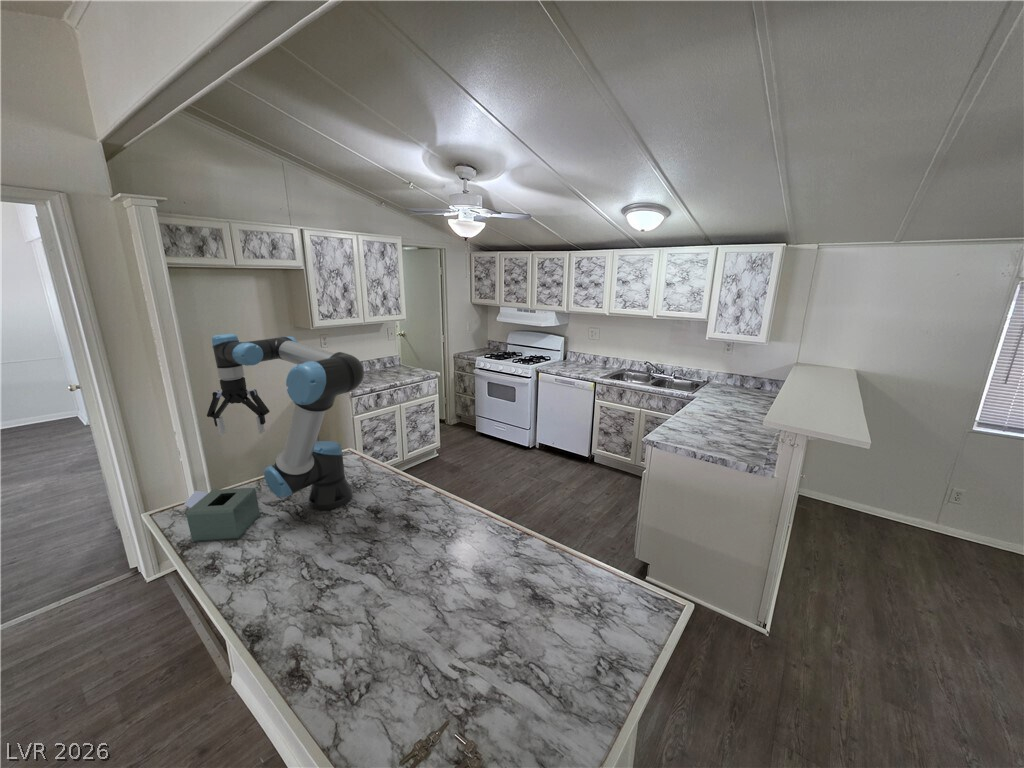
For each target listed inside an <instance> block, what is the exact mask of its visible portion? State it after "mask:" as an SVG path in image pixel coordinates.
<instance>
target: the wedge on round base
mask: <svg viewBox="0 0 1024 768" xmlns="http://www.w3.org/2000/svg"><path fill="white" fill-rule="evenodd" d="M208 493H209V492H207V491H200V490H195V491H194V492H193V493H192V494H191V495H190V497H189V498H188V499H187V500H186V501H185V502H184V504H183V506H186V507H188V508H189V509H190V508H191V507H192V506H194V505H195V504H196V503H197V502H199V501H200V500H201V499H202V498H203V497H205V496H206V495H207V494H208Z"/></svg>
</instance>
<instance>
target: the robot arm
mask: <svg viewBox="0 0 1024 768" xmlns="http://www.w3.org/2000/svg"><path fill="white" fill-rule="evenodd" d="M211 343H212V346H211V347H212V349H213V355H214V359H215V364H216V370H217V374H218V378H219V379H220V380H219V384H220V385H219V386H220V390H221V391H220V390H216V391H214V392H212V400H211V401H210V405H209V407H208V410H207V414H206V417H207V418H212V419H213V421H214V425H215V427H217V430H218V435H219V436H222V437H223V435H226V433H227V431H226V426H225V422H224V416H221V415H222V414H223V412H225V409H226V408H227V406H228V405H229V404H242V405H245V406H246V407H247V408H249V409H250V410H251V411H252V412H253V413H254V414H255V415H256V417H255V418H256V419H255V420H256V424H257V425H256V426H257V429H258V434H259V435H262V434H263V433H265V424H266V417H265V416H267V415H268V414H269V413H270V412H271V411H270V410H269V408H268V407H267V406H266V404H265V402H264V401H263V400H262V398H261V397H260V395H259V394H258V391H257V389H253V390H248V389H247V382H246V378H245V377H244V376H245V373H244V372H245V371H244V367H243V366H247V367H248V366H255V365H258V364H260V363H262V362H267V361H275V360H281V361H282V360H283V361H285V362H288V363H291V364H293V365H294V364H295V366H293V367H292V368H291V369H290V370H289V372H287V376H286V380H285V381H286V383H285V385H286V387H287V389H286V392H287V394H288V396H289V398H290V400H291V401H292V403H293V404H294V410H293V412H292V413H293V414H292V417H291V421H290V426H289V429H288V432H287V435H286V436H287V437H286V440H285V444H284V447H283V450H282V451H281V452H279V453H278V454H277V456H276V457H275V461H274V464H272V465H269V466H267V467H266V468H264V471H263V477H264V480H265V483H266V485H267V487H268V488H269V490H270V491H271V492H272V494H274V495H275V496H276V497H278V498H282V499H284V498H287V497H289V496H292V495H293V494H295V493H297V492H300V491H302V490H303V489H306V488H308V487H310V491H309V495H308V505H309V507H310V508H311V509H313V510H317V511H327V510H334V509H337V508H339V507H342V506H344V505H346V504H347V503H349V502H350V501H351V500H352V498H353V491H352V487H351V486H350V484H349V483H348V480H347V478H346V475H345V465H344V457H343V450H342V449H343V448H342V446H341V444H340V443H338V442H336V441H333V440H320V441H317V439H318V436H319V433H320V430H321V426H322V424H323V420H324V417H325V415H326V414H325V413H326V412H327V411H329V410H331V408H333V405H334V402H335V400H336V397H337V396H340V395H342V394H347V393H349V392H352V391H354V390H355V389H358V387H360V385H361V384H362V383H363V380H364V377H365V369H364V366H363V364H362V362H361V360H359V359H358V358H357V357H356V356H354V355H353V354H349V353H347V352H346V353H345V352H342V351H336V352H331V351H328V350H324V349H320V348H317V347H314V346H310V345H307V344H303V343H300V342H298V340H297V339H296V338H295V337H293V336H280V337H273V338H266V339H258V340H249V341H240V340H239V338H238V336H237V334H235V333H225V334H216V335H214V336H212V338H211ZM248 395H249V396H248ZM221 397H223V401H222V402H221V404H220V406H219V402H220V399H221ZM218 406H219V407H218ZM217 407H218V408H217Z"/></svg>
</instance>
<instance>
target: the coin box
mask: <svg viewBox="0 0 1024 768" xmlns="http://www.w3.org/2000/svg"><path fill="white" fill-rule="evenodd" d="M207 493H208V494H207V495H206V496H205V497H203V498H202V499H201V500H200V501H199V502H197V503H196V504H195V505H194V506H192V507H191V508H190V507H189V508H188V510H186V511H185V516H186V517H185V518H186V521H187V525H188V530H189V532H190V533H189V534H190V537H191V541H192V543H204V542H206V543H207V542H223V541H235V540H240V539H241V538H242V536H243V535H244V534H245V533H246V532H247V531H248V530H249V528H250V527H251V526H252V525H253V524H255V522H256V521H257V519H258V518H259V517H260V516H261V512H260V506H259V501H258V497H257V495H258V494H257V490H256V487H243V488H242V487H239V488H222V489H212V490H211V491H209V492H207Z"/></svg>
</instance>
